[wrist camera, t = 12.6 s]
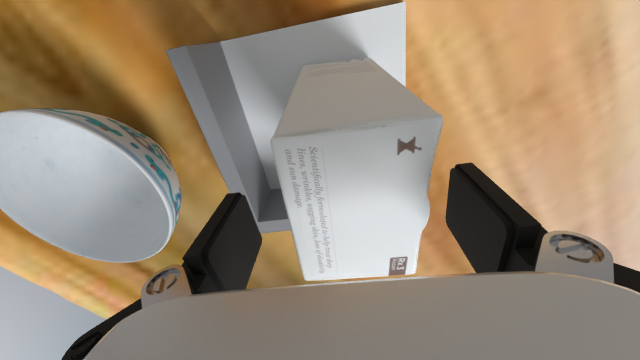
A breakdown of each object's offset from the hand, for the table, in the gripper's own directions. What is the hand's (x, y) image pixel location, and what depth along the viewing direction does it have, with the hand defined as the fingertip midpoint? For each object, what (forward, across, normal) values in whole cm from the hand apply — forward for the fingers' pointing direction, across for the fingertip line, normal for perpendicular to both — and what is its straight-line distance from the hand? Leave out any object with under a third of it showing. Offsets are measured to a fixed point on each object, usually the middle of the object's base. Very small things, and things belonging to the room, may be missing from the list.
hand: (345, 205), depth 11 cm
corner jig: (+14, +2, 0) cm, 14 cm away
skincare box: (+13, 0, -1) cm, 13 cm away
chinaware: (+14, +22, +1) cm, 26 cm away
